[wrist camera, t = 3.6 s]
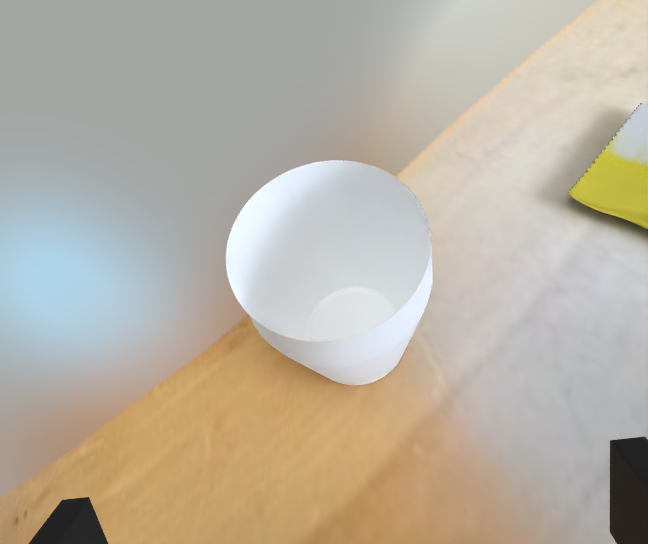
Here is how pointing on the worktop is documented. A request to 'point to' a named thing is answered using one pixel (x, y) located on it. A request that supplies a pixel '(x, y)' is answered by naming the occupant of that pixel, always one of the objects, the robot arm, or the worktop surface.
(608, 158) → the food package
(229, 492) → the worktop surface
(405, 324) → the cup
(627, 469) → the robot arm
